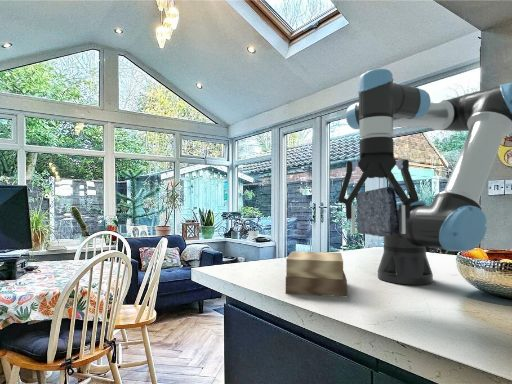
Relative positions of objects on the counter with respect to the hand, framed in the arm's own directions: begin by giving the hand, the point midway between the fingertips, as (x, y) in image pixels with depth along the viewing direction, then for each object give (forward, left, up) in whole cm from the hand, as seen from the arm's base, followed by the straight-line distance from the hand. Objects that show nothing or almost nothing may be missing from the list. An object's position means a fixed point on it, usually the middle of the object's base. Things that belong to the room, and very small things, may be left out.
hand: (377, 233), depth 81 cm
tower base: (+14, -11, -17) cm, 24 cm away
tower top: (+14, -11, -12) cm, 22 cm away
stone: (0, 0, -1) cm, 1 cm away
